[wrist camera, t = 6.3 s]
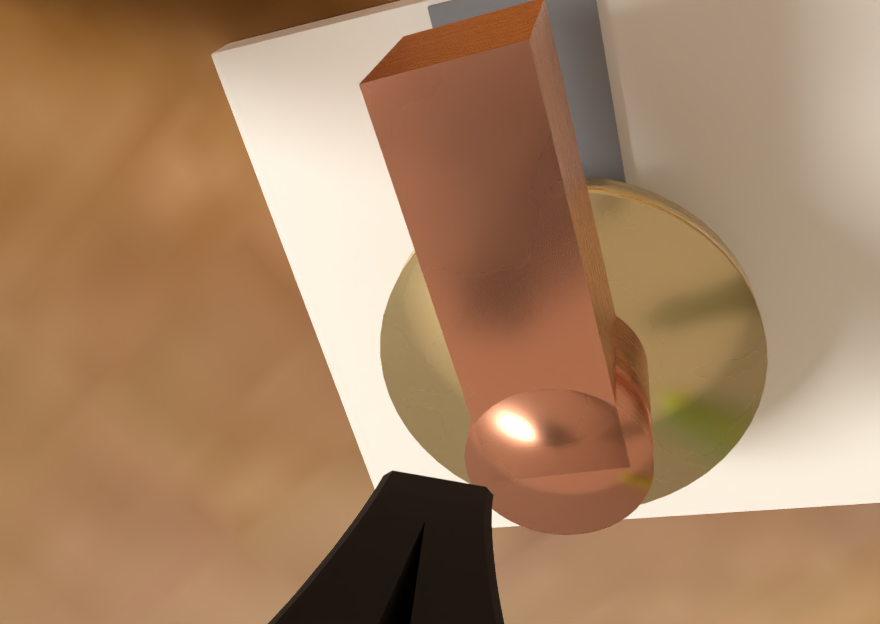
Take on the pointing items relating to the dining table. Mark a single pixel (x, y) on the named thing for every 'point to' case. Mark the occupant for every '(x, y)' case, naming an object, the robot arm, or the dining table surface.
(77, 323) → the dining table surface
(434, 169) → the lever handle
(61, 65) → the dining table surface
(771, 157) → the board
